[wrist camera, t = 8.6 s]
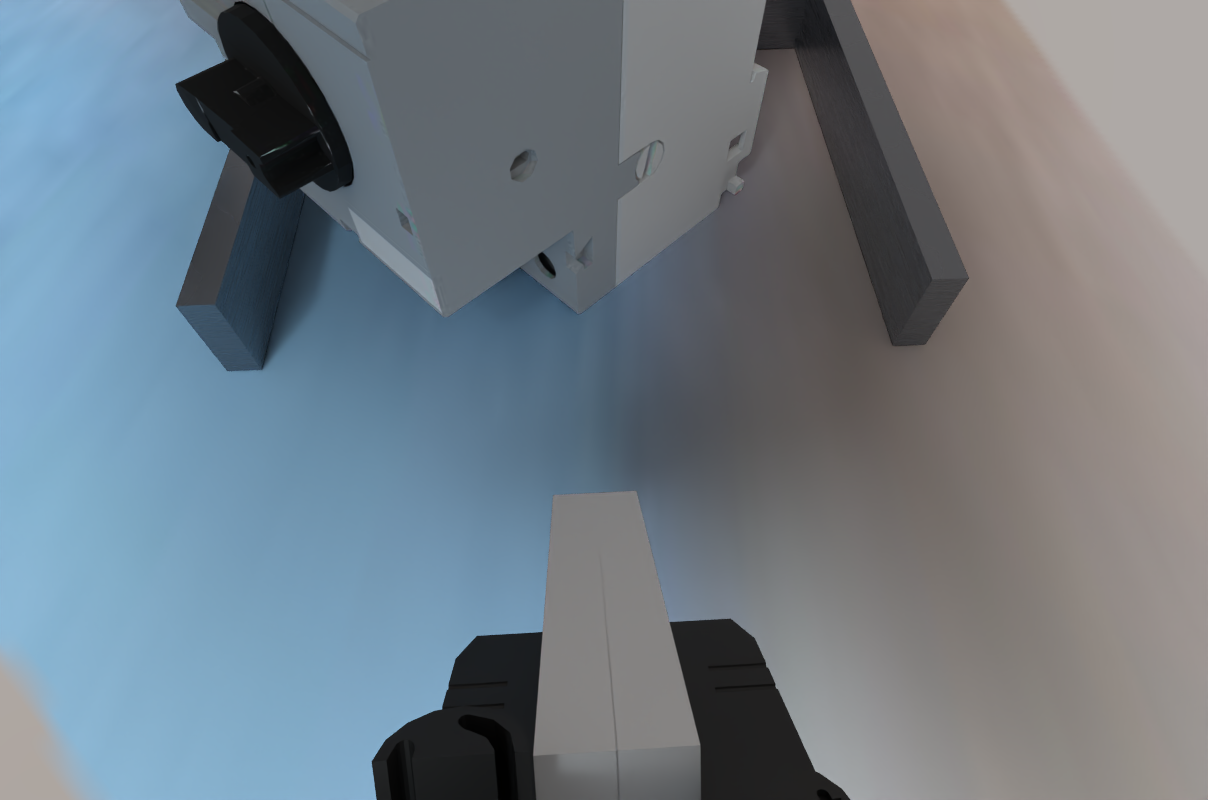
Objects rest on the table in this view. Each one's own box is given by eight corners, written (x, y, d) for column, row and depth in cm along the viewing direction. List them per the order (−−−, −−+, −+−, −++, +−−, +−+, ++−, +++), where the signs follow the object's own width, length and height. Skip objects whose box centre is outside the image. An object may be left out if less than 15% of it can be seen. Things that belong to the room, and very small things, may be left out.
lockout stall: (318, 42, 30) (292, -32, 27) (812, 30, 30) (831, -43, 28) (227, 370, 21) (175, 306, 18) (925, 344, 22) (968, 278, 19)
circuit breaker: (277, 291, 23) (-139, -417, 10) (594, 96, 28) (590, -526, 15) (421, 436, 20) (100, -287, 7) (742, 189, 25) (888, -475, 12)
